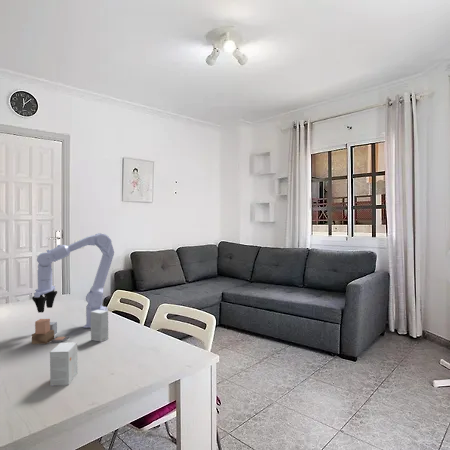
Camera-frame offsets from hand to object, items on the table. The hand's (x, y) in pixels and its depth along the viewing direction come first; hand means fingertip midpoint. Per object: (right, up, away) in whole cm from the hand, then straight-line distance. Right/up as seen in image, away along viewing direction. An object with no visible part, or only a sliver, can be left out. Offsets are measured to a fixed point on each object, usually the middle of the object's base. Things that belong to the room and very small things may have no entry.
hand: (45, 309), depth 148 cm
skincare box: (+27, -11, -8) cm, 30 cm away
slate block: (+3, -11, -2) cm, 11 cm away
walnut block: (+4, -11, -10) cm, 15 cm away
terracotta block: (+4, -7, -10) cm, 13 cm away
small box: (+29, -11, -43) cm, 53 cm away
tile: (+11, -11, -9) cm, 17 cm away
